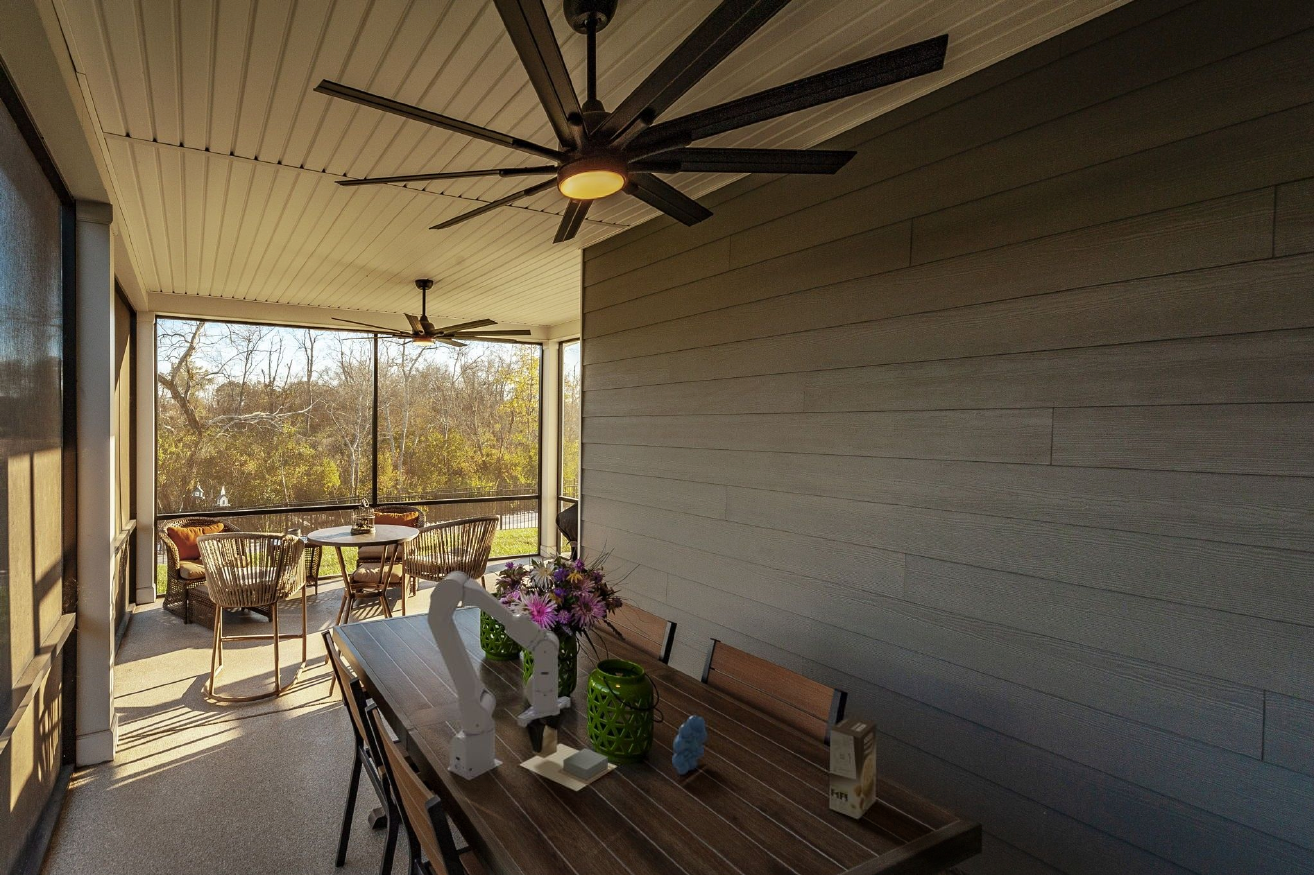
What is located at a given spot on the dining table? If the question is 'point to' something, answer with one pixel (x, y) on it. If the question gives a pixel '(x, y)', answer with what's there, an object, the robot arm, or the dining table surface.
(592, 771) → the slate slab
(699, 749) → the blue lumpy rounded block
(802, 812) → the dining table surface
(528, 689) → the donut
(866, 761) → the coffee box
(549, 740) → the maple block
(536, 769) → the white flat sheet
